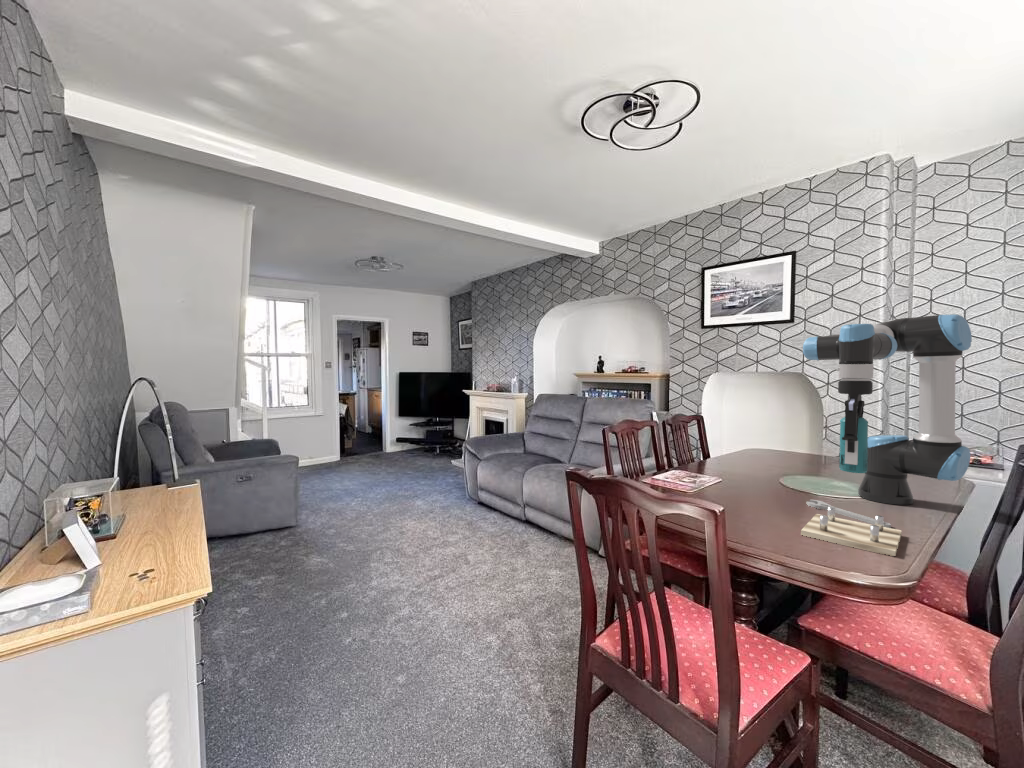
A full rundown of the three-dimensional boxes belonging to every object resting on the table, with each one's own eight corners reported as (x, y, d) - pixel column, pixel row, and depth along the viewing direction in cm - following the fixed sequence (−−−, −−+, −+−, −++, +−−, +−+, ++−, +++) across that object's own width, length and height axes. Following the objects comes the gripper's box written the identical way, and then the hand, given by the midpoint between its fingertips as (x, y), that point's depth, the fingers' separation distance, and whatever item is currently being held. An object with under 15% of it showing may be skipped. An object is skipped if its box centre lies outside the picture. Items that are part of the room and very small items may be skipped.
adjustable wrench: (893, 529, 128) (893, 523, 128) (877, 531, 127) (877, 525, 127) (815, 503, 153) (815, 498, 153) (801, 505, 151) (801, 500, 151)
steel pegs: (828, 519, 131) (828, 506, 131) (883, 530, 122) (883, 516, 122) (819, 530, 122) (819, 516, 122) (878, 543, 113) (878, 527, 113)
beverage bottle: (874, 478, 119) (876, 405, 118) (851, 479, 118) (853, 405, 118) (853, 473, 125) (855, 403, 125) (832, 473, 125) (833, 404, 124)
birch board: (816, 518, 136) (816, 513, 136) (901, 535, 122) (901, 530, 122) (800, 535, 122) (801, 530, 122) (895, 557, 108) (895, 551, 108)
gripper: (844, 379, 130) (842, 455, 131) (832, 380, 117) (830, 465, 117) (876, 379, 125) (874, 459, 126) (868, 380, 111) (865, 469, 112)
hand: (853, 461), depth 122 cm, fingers closed on beverage bottle, 6 cm apart
